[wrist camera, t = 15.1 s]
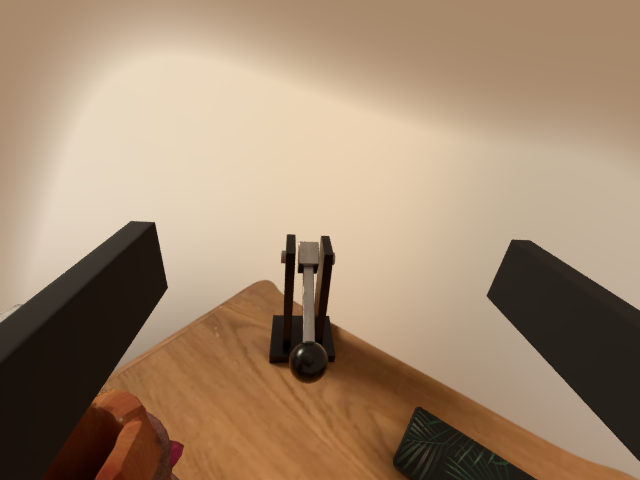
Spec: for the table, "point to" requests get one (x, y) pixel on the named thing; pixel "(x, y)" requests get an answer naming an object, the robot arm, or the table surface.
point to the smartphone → (448, 454)
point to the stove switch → (291, 327)
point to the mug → (116, 444)
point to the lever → (308, 322)
